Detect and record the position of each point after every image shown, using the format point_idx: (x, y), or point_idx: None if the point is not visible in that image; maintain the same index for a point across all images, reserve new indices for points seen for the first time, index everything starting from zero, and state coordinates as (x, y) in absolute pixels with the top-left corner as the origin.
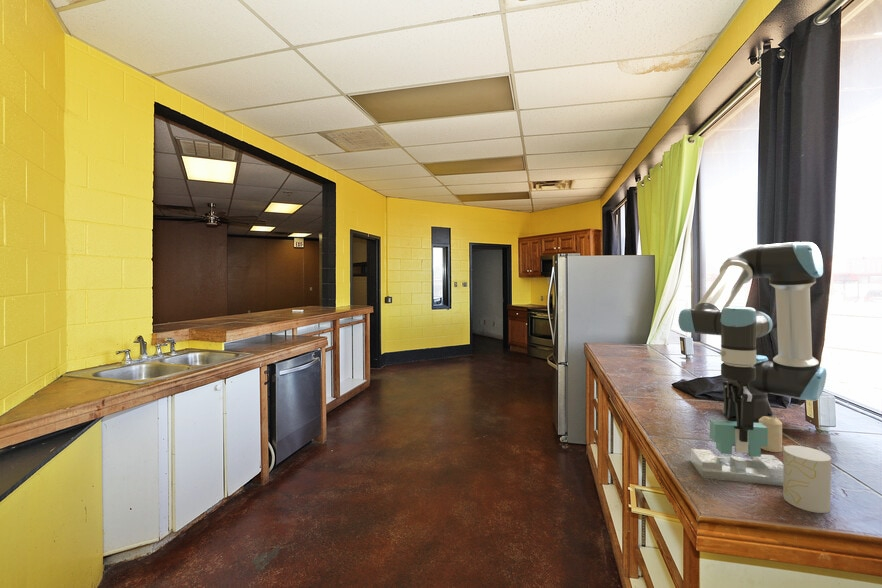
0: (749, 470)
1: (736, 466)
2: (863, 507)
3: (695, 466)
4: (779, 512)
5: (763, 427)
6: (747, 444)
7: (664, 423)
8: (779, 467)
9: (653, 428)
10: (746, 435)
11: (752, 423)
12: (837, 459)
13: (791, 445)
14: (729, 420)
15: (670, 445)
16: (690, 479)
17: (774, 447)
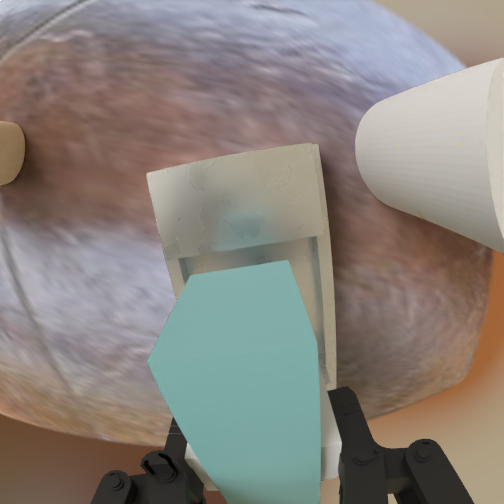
0: (233, 266)
1: None
2: (366, 13)
3: None
4: (465, 249)
5: (311, 374)
6: (319, 368)
7: (11, 385)
8: (297, 186)
9: (55, 417)
10: (364, 421)
11: (455, 478)
12: (41, 4)
13: (493, 193)
14: (202, 493)
15: (135, 420)
16: None
17: (14, 143)
